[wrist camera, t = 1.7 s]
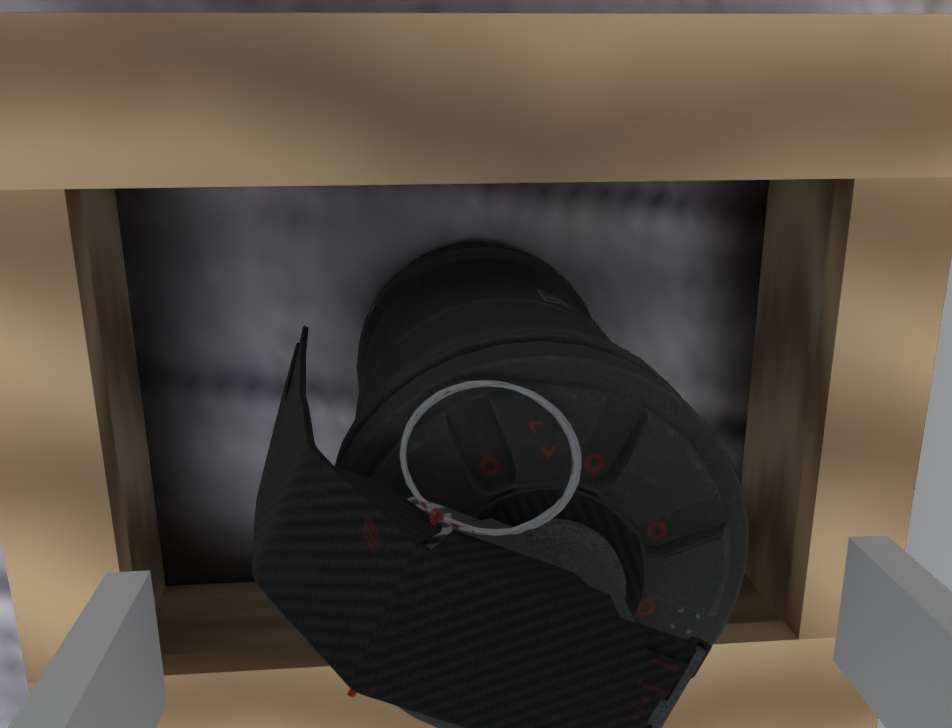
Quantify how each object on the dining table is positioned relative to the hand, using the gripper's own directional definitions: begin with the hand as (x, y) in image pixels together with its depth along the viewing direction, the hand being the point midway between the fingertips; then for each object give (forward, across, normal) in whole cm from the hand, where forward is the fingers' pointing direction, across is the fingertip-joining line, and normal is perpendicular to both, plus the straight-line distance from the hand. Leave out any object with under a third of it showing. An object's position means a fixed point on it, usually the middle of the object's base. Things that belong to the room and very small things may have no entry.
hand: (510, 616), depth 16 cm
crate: (+18, 0, 0) cm, 18 cm away
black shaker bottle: (+18, 0, 0) cm, 18 cm away
